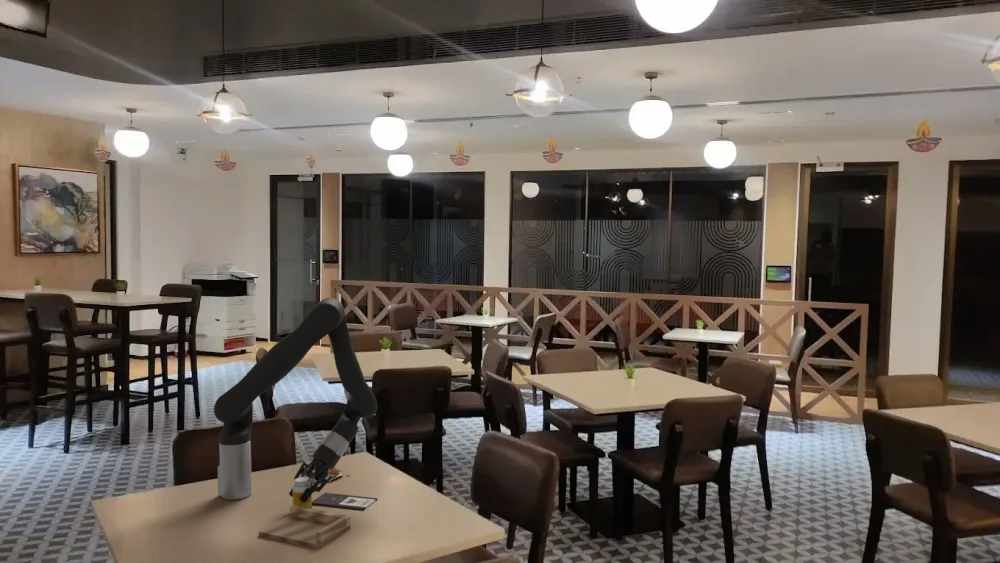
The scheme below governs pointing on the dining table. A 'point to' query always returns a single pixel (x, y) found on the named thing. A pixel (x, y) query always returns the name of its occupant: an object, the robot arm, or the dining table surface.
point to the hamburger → (334, 473)
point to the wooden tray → (308, 527)
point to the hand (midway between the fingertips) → (296, 498)
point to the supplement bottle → (301, 492)
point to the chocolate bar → (344, 501)
